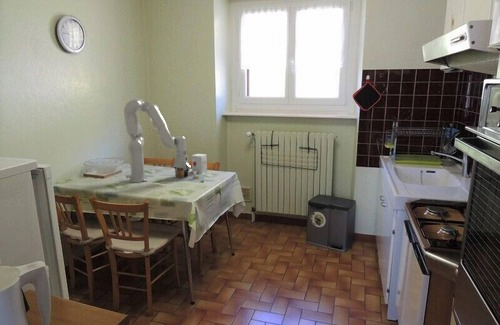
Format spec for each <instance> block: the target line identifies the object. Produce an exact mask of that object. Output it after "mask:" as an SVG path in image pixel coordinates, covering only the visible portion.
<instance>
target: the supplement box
mask: <svg viewBox="0 0 500 325" xmlns="http://www.w3.org/2000/svg"><path fill="white" fill-rule="evenodd" d="M207 155H208V154H205V153H196V154H192V155H191V165H192V166H191V170H192V173H193V172H196V174H203V173H208V164H207V163H208V160H207V159H208V158H207Z"/></svg>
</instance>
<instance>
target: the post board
mask: <svg viewBox="0 0 500 325" xmlns="http://www.w3.org/2000/svg"><path fill="white" fill-rule="evenodd" d="M205 176H206V174H197V173H196V172H192V174H189V176H188V177H186V178H176V177H174V179H173V180H172V182H200V183H204V182H205V178H206V177H205Z"/></svg>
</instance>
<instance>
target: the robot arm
mask: <svg viewBox="0 0 500 325" xmlns="http://www.w3.org/2000/svg"><path fill="white" fill-rule="evenodd" d="M138 111H139V112H142V113H145V114H147V116H148V118H149V120H150V121H151V122H152V124H153V127H154V128H155V130H156V132H157V134H158V136H159V139H160V140H161V142H162V144H163V145H164V146H165V148H167V149H172V148H173V147H175V155H174V156H175V157H174V163H173V164H172V167H173V169H174V171H175V170H176V169H179V168H183V169H184V170H185V172H184V173H185V177H187V176H188V172H189V171H190V169H192V166H191V165H190V163H189V156H188V155H187V154H188V152H187V144H186V143H187V142H186V137H185V136H172V135H171V133H170V131H169V129H168V126H167V123H166V120H165V118H164V116H163V115H162V113H161V112H160V107H159V105H158V104H156V103H153V102H150V101H149V100H148V101H147V100H145V99H141V98H132V99H131V100H130V101H128V102H127V103H126V104H125V106H124V108H123V115H124V116H123V117H124V121H125V127H126V133H127V135H128V136H129V138H130V140H129V142H128V153H129V154H128V155H129V163H130V164H129V165H130V174H125V178H126V179H129V182H131V183H142V182H146V180H148V178H147V176H146V174H145V172H146V171H145V159H144V145H145V139H144V134H143V128H142V126H141V124H140V123H139V122H138V116H137V112H138Z"/></svg>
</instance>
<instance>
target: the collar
mask: <svg viewBox="0 0 500 325" xmlns="http://www.w3.org/2000/svg"><path fill="white" fill-rule="evenodd" d="M184 172H185V170H184V168H179V169H176V170H175V169H174V173H175V174H174V176H175V177H176V178H186V177H185V173H184ZM189 175H190V174H189V171H188V176H189ZM188 176H187V177H188ZM175 177H174V178H175Z"/></svg>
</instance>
